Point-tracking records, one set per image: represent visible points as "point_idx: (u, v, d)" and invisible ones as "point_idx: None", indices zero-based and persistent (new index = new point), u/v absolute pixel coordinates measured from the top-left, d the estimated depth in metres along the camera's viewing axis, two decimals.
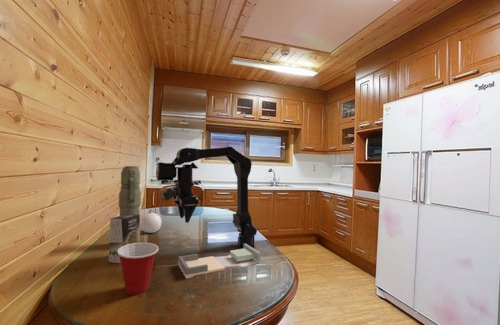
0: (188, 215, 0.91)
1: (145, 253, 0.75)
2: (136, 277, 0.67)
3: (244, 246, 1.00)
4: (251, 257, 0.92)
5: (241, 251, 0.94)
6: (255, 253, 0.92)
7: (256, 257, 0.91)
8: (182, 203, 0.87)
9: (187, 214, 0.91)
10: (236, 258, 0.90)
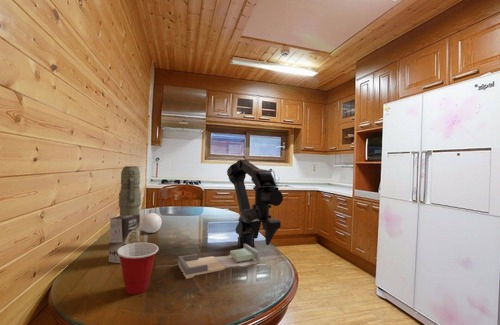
0: (269, 238, 0.93)
1: (145, 253, 0.75)
2: (136, 277, 0.67)
3: (244, 246, 1.00)
4: (251, 257, 0.92)
5: (241, 251, 0.94)
6: (255, 253, 0.92)
7: (256, 257, 0.91)
8: (267, 227, 0.89)
9: (268, 237, 0.93)
10: (236, 258, 0.90)
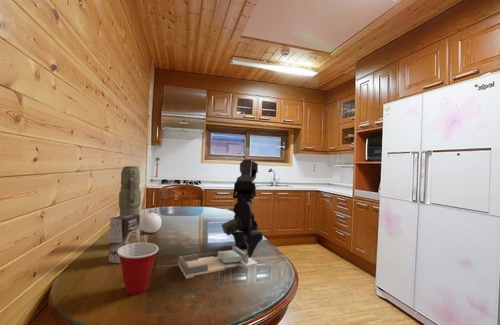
0: (251, 250, 0.89)
1: (145, 253, 0.75)
2: (136, 277, 0.67)
3: (233, 248, 0.97)
4: (239, 259, 0.89)
5: (229, 253, 0.92)
6: (243, 255, 0.89)
7: (244, 260, 0.88)
8: (248, 240, 0.85)
9: (250, 249, 0.89)
10: (223, 259, 0.87)
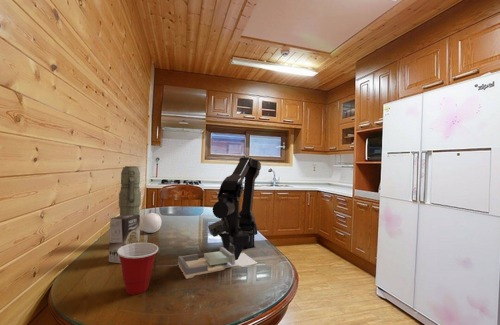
0: (238, 252, 0.87)
1: (145, 253, 0.75)
2: (136, 277, 0.67)
3: (220, 249, 0.95)
4: (225, 261, 0.86)
5: (215, 254, 0.89)
6: (230, 257, 0.86)
7: (230, 261, 0.86)
8: (234, 241, 0.82)
9: (237, 251, 0.86)
10: (209, 261, 0.85)
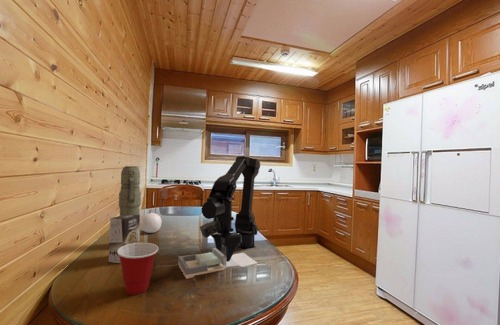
0: (229, 253, 0.85)
1: (145, 253, 0.75)
2: (136, 277, 0.67)
3: (212, 250, 0.93)
4: (217, 262, 0.85)
5: (207, 255, 0.87)
6: (221, 257, 0.85)
7: (222, 262, 0.84)
8: (225, 242, 0.81)
9: (229, 252, 0.85)
10: (200, 263, 0.83)
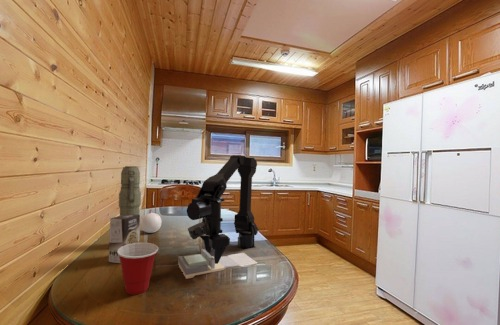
0: (218, 256, 0.83)
1: (145, 253, 0.75)
2: (136, 277, 0.67)
3: (201, 251, 0.91)
4: (205, 264, 0.83)
5: (195, 257, 0.85)
6: (209, 260, 0.83)
7: (210, 264, 0.82)
8: (213, 244, 0.79)
9: (217, 255, 0.83)
10: None
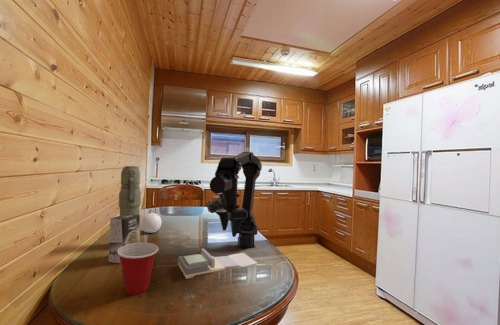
0: (235, 229, 0.86)
1: (145, 253, 0.75)
2: (136, 277, 0.67)
3: (201, 251, 0.91)
4: (205, 264, 0.83)
5: (195, 257, 0.85)
6: (209, 260, 0.83)
7: (210, 264, 0.82)
8: (232, 217, 0.82)
9: (235, 228, 0.86)
10: None
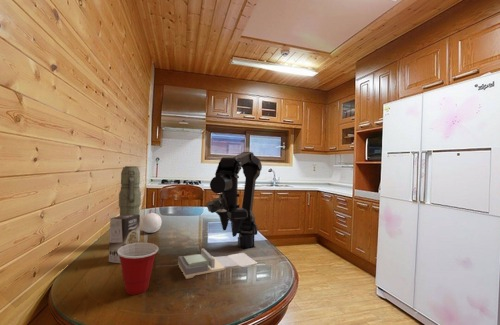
0: (236, 228, 0.86)
1: (145, 253, 0.75)
2: (136, 277, 0.67)
3: (201, 251, 0.91)
4: (205, 264, 0.83)
5: (195, 257, 0.85)
6: (209, 260, 0.83)
7: (210, 264, 0.82)
8: (232, 216, 0.82)
9: (235, 227, 0.86)
10: None
